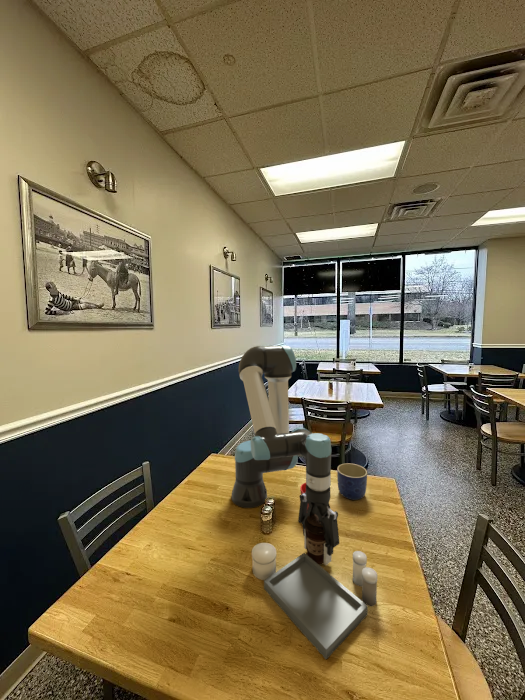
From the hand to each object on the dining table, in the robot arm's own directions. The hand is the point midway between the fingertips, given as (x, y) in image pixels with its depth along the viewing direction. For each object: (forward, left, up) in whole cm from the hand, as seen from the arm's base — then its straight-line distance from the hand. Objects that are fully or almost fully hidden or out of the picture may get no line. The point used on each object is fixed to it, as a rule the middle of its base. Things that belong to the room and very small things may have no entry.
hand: (317, 554), depth 92 cm
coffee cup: (0, 0, -1) cm, 1 cm away
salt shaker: (+13, +3, -1) cm, 13 cm away
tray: (+9, -12, -1) cm, 15 cm away
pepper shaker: (+18, 0, -1) cm, 18 cm away
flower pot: (-16, +16, -1) cm, 23 cm away
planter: (-14, +38, -1) cm, 41 cm away
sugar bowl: (-7, -16, -1) cm, 18 cm away
